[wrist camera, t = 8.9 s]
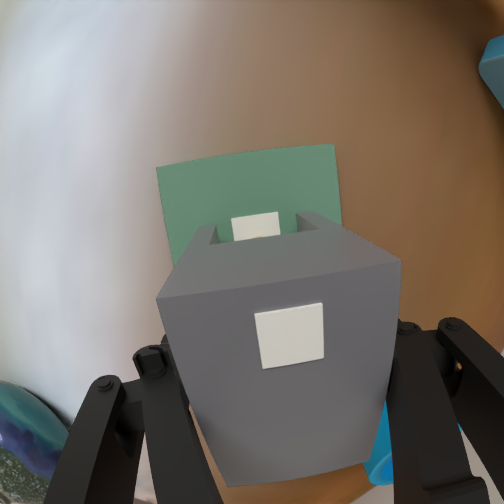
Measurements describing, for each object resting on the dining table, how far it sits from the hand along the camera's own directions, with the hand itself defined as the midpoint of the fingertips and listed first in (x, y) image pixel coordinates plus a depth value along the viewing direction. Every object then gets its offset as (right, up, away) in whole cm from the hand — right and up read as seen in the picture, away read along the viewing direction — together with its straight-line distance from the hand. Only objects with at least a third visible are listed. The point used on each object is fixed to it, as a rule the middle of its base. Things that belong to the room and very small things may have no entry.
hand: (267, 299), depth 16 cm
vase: (-25, -16, +6) cm, 30 cm away
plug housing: (0, 0, 0) cm, 1 cm away
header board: (0, +1, +2) cm, 3 cm away
